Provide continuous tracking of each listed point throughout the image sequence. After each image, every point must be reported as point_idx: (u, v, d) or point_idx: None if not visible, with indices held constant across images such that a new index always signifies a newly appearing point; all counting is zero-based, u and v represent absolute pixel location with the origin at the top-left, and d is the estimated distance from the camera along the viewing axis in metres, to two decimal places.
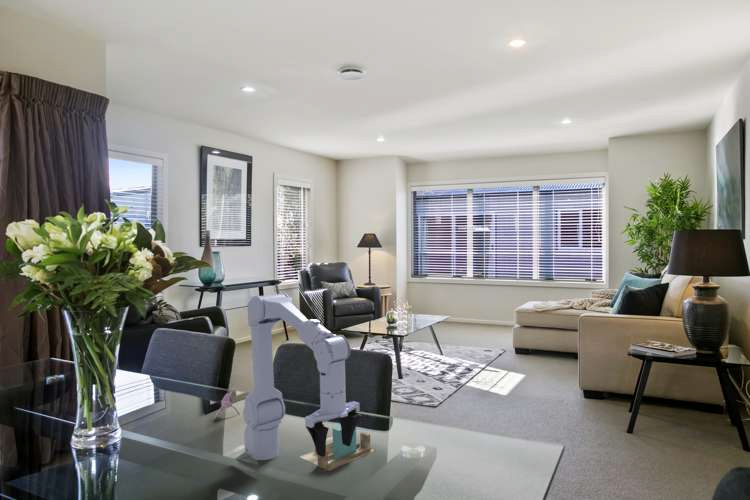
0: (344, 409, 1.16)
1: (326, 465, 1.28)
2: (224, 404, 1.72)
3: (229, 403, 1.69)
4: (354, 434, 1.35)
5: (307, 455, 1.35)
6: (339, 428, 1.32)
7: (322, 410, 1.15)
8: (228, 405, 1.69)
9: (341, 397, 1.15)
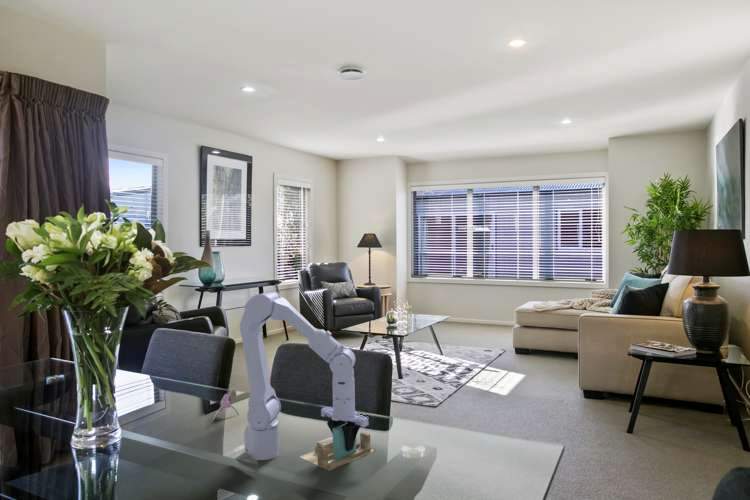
0: (340, 415, 1.31)
1: (326, 465, 1.28)
2: (223, 404, 1.72)
3: (228, 403, 1.69)
4: None
5: (307, 455, 1.35)
6: (339, 428, 1.32)
7: None
8: (227, 405, 1.69)
9: (336, 403, 1.31)
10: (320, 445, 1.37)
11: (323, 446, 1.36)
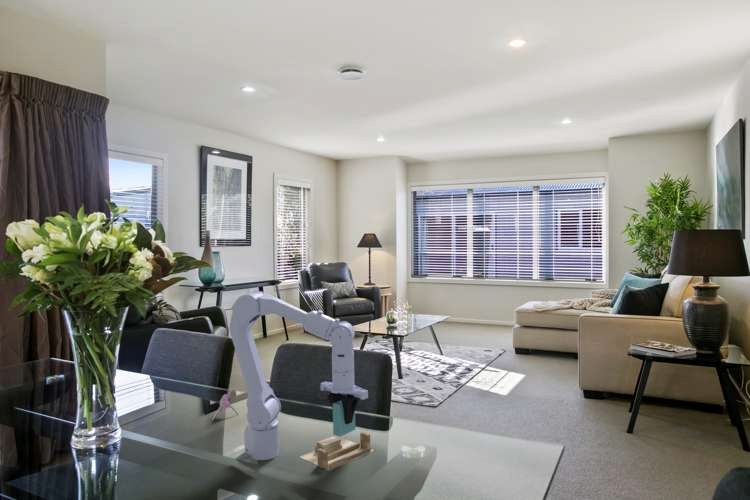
0: (340, 388, 1.31)
1: (326, 465, 1.28)
2: (222, 404, 1.71)
3: (228, 403, 1.69)
4: None
5: (307, 455, 1.35)
6: (339, 403, 1.32)
7: None
8: (227, 405, 1.69)
9: (336, 376, 1.31)
10: (320, 445, 1.37)
11: (323, 446, 1.36)
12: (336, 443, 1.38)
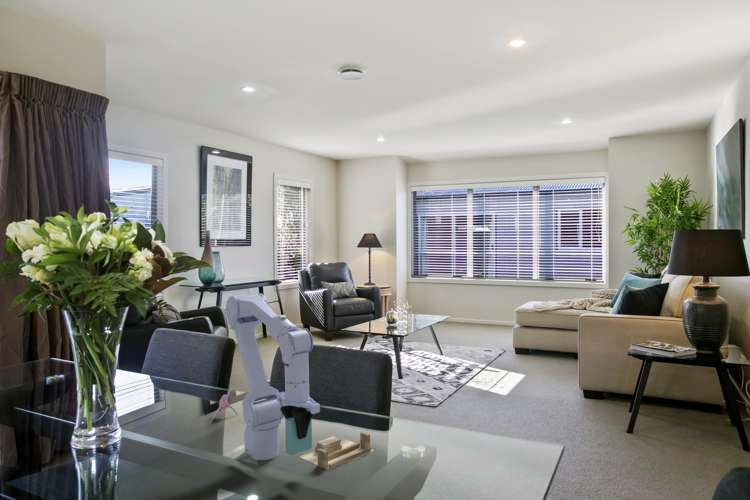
0: (291, 400, 1.22)
1: (326, 465, 1.28)
2: (222, 405, 1.71)
3: (227, 404, 1.69)
4: (309, 426, 1.25)
5: (307, 455, 1.35)
6: (292, 419, 1.23)
7: None
8: (226, 406, 1.69)
9: (287, 387, 1.22)
10: (320, 445, 1.37)
11: (323, 446, 1.36)
12: (336, 443, 1.38)
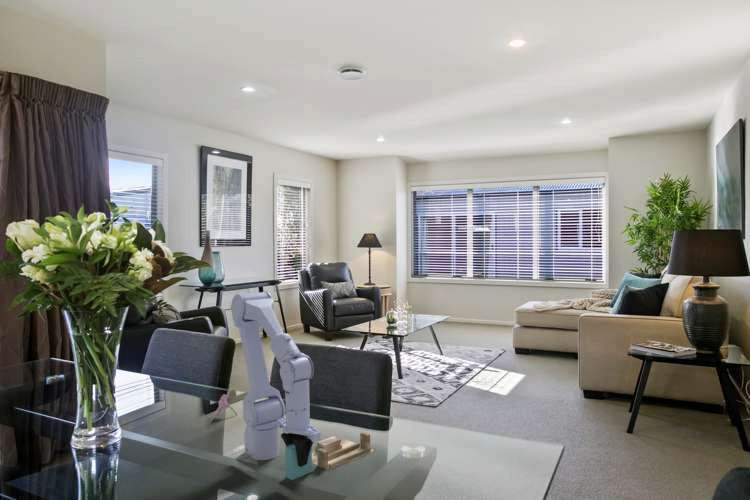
0: (291, 428, 1.22)
1: (326, 465, 1.28)
2: (221, 405, 1.71)
3: (227, 404, 1.69)
4: None
5: None
6: (292, 446, 1.23)
7: None
8: (226, 406, 1.68)
9: (288, 414, 1.22)
10: (320, 445, 1.37)
11: (323, 446, 1.36)
12: (336, 443, 1.38)
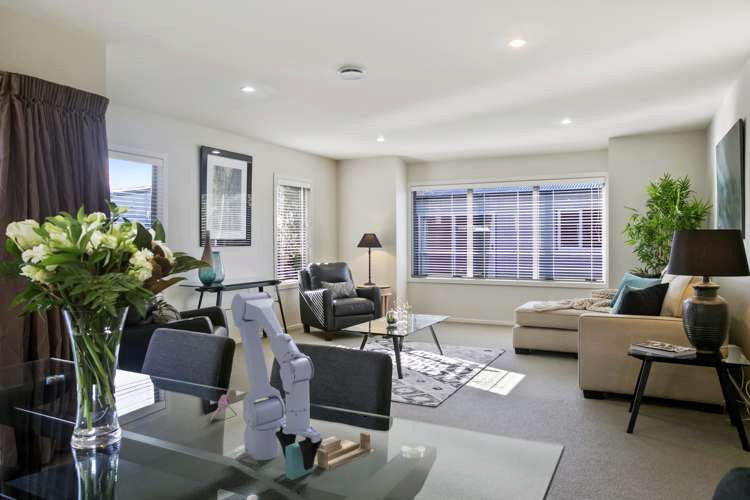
0: (291, 428, 1.22)
1: (326, 465, 1.28)
2: (221, 405, 1.71)
3: (226, 404, 1.68)
4: None
5: None
6: (292, 446, 1.23)
7: None
8: (225, 406, 1.68)
9: (288, 415, 1.22)
10: (320, 445, 1.37)
11: (323, 446, 1.36)
12: (336, 443, 1.38)
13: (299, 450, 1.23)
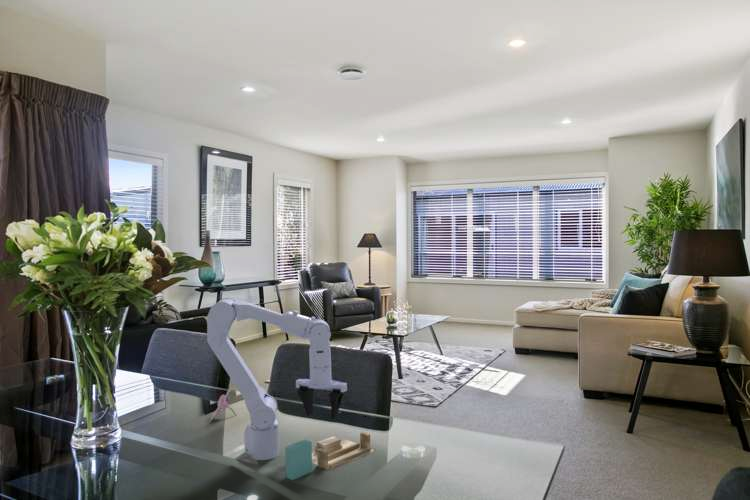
0: (319, 383, 1.35)
1: (326, 465, 1.28)
2: (220, 405, 1.71)
3: (226, 404, 1.68)
4: (309, 452, 1.25)
5: None
6: (292, 446, 1.23)
7: None
8: (225, 406, 1.68)
9: (315, 372, 1.35)
10: (320, 445, 1.37)
11: (323, 446, 1.36)
12: (336, 443, 1.38)
13: (299, 450, 1.23)
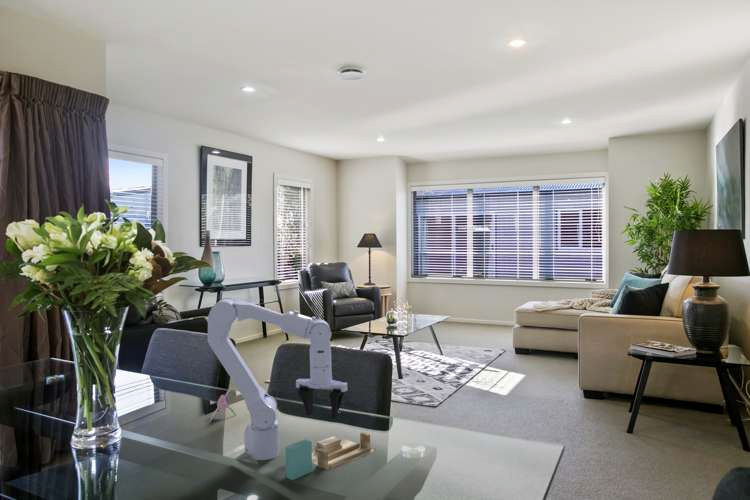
0: (320, 383, 1.36)
1: (326, 465, 1.28)
2: (220, 405, 1.71)
3: (225, 404, 1.68)
4: (309, 452, 1.25)
5: None
6: (292, 446, 1.23)
7: None
8: (224, 406, 1.68)
9: (316, 371, 1.36)
10: (320, 445, 1.37)
11: (323, 446, 1.36)
12: (336, 443, 1.38)
13: (299, 450, 1.23)
